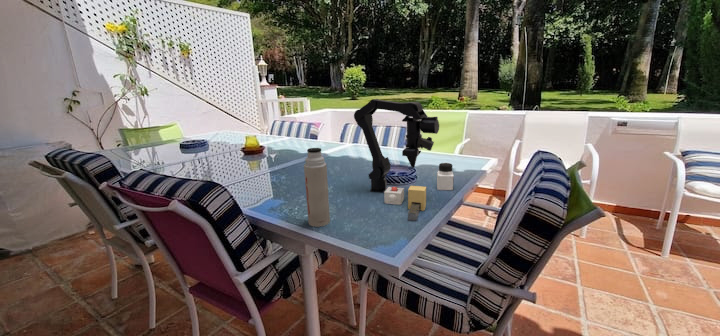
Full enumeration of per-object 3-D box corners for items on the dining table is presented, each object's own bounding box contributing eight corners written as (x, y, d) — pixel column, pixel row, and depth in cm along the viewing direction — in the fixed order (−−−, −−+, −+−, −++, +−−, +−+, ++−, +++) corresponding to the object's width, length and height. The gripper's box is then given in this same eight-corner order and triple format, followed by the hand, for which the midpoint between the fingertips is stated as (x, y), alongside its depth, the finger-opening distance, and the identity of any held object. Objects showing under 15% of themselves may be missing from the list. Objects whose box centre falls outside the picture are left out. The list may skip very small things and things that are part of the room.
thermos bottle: (307, 227, 113) (301, 151, 106) (309, 218, 121) (303, 147, 113) (329, 226, 114) (325, 150, 106) (330, 217, 121) (325, 145, 114)
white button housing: (384, 203, 133) (384, 192, 131) (388, 197, 139) (388, 186, 138) (400, 205, 130) (400, 193, 129) (404, 198, 137) (404, 188, 136)
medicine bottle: (453, 190, 145) (454, 165, 142) (437, 190, 147) (438, 165, 144) (451, 185, 152) (453, 161, 149) (436, 185, 154) (437, 161, 150)
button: (391, 192, 133) (390, 188, 133) (392, 190, 135) (392, 186, 135) (396, 193, 133) (396, 188, 132) (397, 191, 135) (397, 186, 134)
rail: (408, 220, 116) (408, 212, 116) (414, 204, 131) (414, 197, 130) (416, 220, 115) (416, 213, 115) (422, 204, 130) (422, 198, 129)
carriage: (408, 209, 126) (408, 189, 123) (410, 204, 130) (410, 185, 128) (424, 210, 124) (424, 190, 121) (425, 206, 128) (426, 186, 126)
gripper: (430, 136, 122) (429, 174, 126) (435, 129, 139) (434, 163, 143) (402, 135, 126) (401, 173, 130) (410, 128, 143) (409, 162, 147)
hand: (413, 167), depth 137 cm, fingers closed
